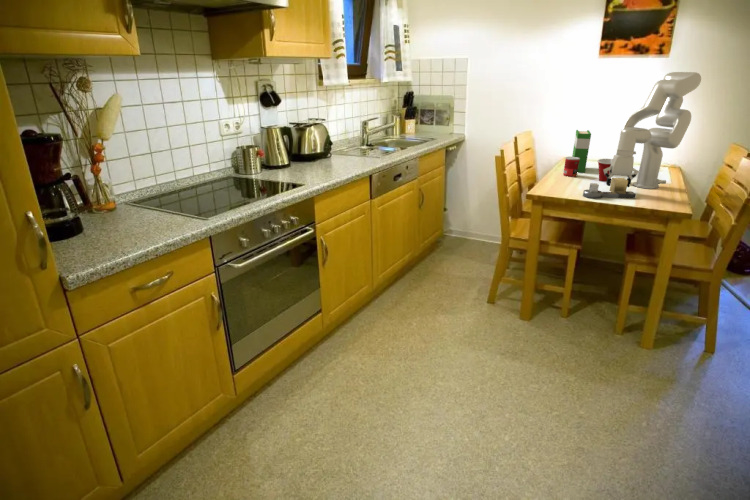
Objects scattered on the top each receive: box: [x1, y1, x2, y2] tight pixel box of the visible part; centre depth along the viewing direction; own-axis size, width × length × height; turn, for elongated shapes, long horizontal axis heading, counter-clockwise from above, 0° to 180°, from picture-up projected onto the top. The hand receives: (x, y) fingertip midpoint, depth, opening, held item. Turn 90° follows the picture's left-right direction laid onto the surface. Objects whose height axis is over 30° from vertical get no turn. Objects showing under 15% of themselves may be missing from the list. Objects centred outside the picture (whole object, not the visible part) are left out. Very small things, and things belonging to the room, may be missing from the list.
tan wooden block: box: [608, 177, 628, 192], centre depth 240 cm, size 6×6×7 cm
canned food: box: [562, 156, 580, 178], centre depth 275 cm, size 8×8×11 cm
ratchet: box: [582, 182, 637, 200], centre depth 231 cm, size 24×9×6 cm, turn 83°
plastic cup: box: [597, 158, 613, 183], centre depth 262 cm, size 11×11×12 cm
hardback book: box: [571, 129, 592, 174], centre depth 288 cm, size 18×7×24 cm, turn 161°
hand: (617, 185), depth 239 cm, fingers open, 9 cm apart
